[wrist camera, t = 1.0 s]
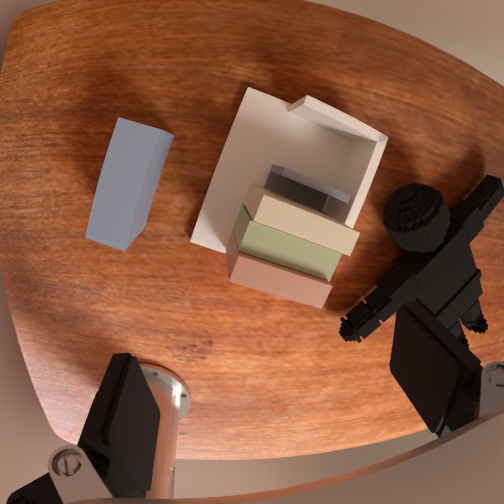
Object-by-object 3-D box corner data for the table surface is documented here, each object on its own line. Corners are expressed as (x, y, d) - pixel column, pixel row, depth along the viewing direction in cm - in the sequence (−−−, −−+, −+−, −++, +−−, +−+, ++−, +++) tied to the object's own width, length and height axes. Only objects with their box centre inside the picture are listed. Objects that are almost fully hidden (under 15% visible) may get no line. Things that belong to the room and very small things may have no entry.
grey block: (174, 134, 31) (161, 129, 23) (144, 228, 34) (124, 251, 26) (141, 124, 31) (118, 117, 22) (113, 217, 33) (85, 237, 25)
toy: (403, 407, 42) (308, 306, 31) (383, 378, 49) (288, 273, 38) (530, 275, 38) (498, 122, 26) (503, 258, 45) (458, 118, 33)
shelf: (301, 275, 38) (329, 318, 28) (190, 239, 35) (181, 274, 25) (358, 138, 33) (407, 137, 24) (247, 88, 30) (260, 62, 21)
